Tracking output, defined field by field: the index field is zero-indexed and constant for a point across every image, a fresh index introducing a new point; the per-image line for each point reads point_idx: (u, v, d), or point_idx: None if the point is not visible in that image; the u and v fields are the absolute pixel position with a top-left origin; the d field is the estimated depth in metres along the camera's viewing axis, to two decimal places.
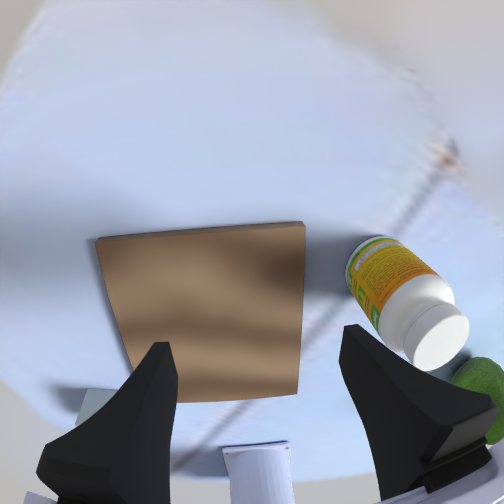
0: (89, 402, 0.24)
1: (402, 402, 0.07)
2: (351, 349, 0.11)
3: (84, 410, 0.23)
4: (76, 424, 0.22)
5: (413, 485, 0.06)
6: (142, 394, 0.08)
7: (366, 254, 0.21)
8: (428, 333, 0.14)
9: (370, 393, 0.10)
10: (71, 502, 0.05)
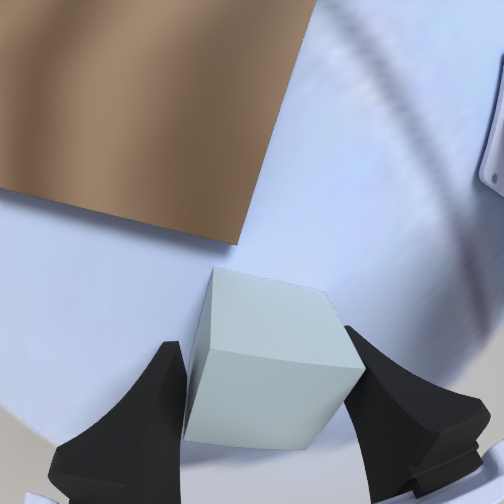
0: (190, 373, 0.13)
1: (391, 405, 0.07)
2: None
3: (187, 395, 0.12)
4: None
5: (402, 489, 0.06)
6: (154, 394, 0.08)
7: None
8: None
9: (360, 395, 0.10)
10: None
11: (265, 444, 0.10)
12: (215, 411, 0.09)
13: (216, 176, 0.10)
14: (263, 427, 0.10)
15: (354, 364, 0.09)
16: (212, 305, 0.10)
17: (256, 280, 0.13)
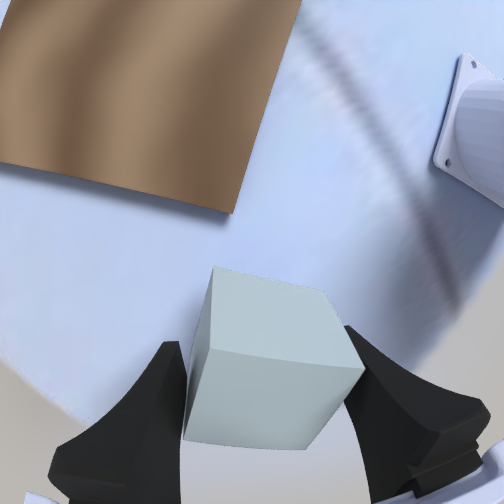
0: (190, 373, 0.13)
1: (391, 405, 0.07)
2: None
3: (187, 395, 0.12)
4: (184, 435, 0.10)
5: (402, 489, 0.06)
6: (154, 394, 0.08)
7: None
8: None
9: (360, 395, 0.10)
10: None
11: (265, 444, 0.10)
12: (214, 411, 0.09)
13: (217, 162, 0.14)
14: (263, 427, 0.10)
15: (354, 364, 0.09)
16: (212, 305, 0.10)
17: (256, 280, 0.13)
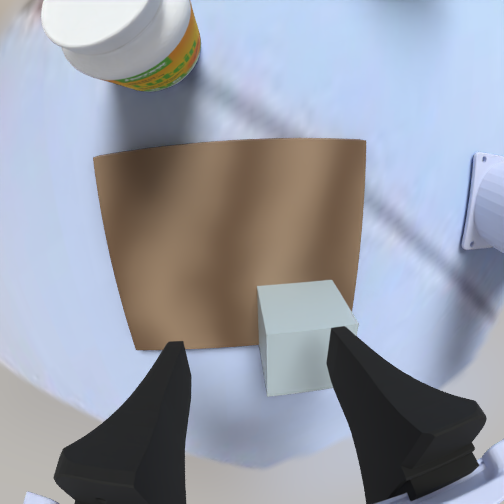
0: (261, 355, 0.20)
1: (385, 407, 0.07)
2: (337, 351, 0.11)
3: (263, 369, 0.19)
4: (267, 393, 0.18)
5: (397, 491, 0.06)
6: (160, 394, 0.08)
7: None
8: (57, 41, 0.06)
9: (355, 396, 0.10)
10: None
11: (317, 386, 0.18)
12: (280, 370, 0.17)
13: None
14: (311, 374, 0.17)
15: (351, 322, 0.16)
16: (262, 310, 0.18)
17: (285, 286, 0.20)
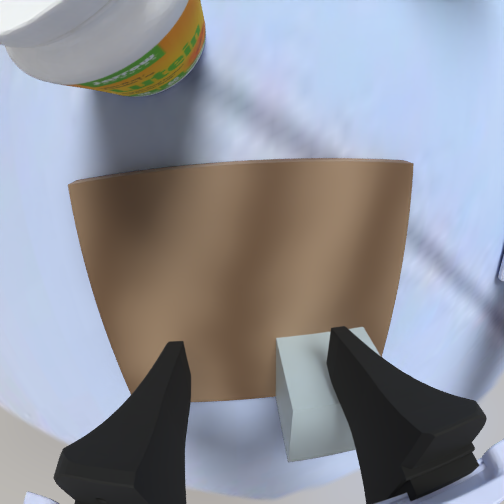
0: (280, 413, 0.16)
1: (385, 406, 0.07)
2: (337, 351, 0.11)
3: (282, 430, 0.15)
4: (288, 459, 0.14)
5: (396, 491, 0.06)
6: (160, 394, 0.08)
7: None
8: None
9: (355, 396, 0.10)
10: None
11: (345, 449, 0.14)
12: (305, 440, 0.13)
13: None
14: (340, 440, 0.13)
15: None
16: (285, 375, 0.14)
17: (310, 338, 0.16)
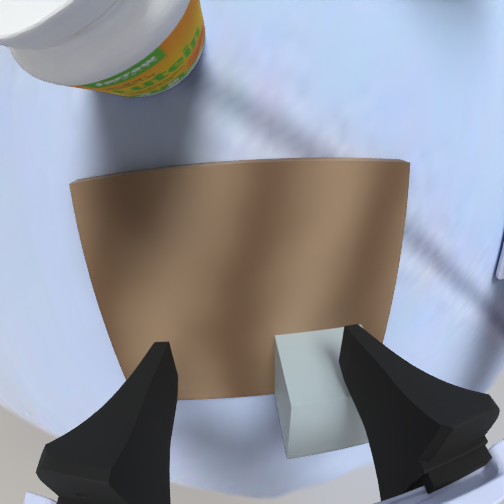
0: (279, 410, 0.17)
1: (402, 402, 0.07)
2: (351, 349, 0.11)
3: (281, 427, 0.16)
4: (287, 455, 0.14)
5: (413, 485, 0.06)
6: (142, 394, 0.08)
7: None
8: None
9: (370, 393, 0.10)
10: (71, 502, 0.05)
11: (343, 445, 0.14)
12: (303, 436, 0.13)
13: None
14: (338, 436, 0.14)
15: None
16: (284, 372, 0.14)
17: (308, 336, 0.16)
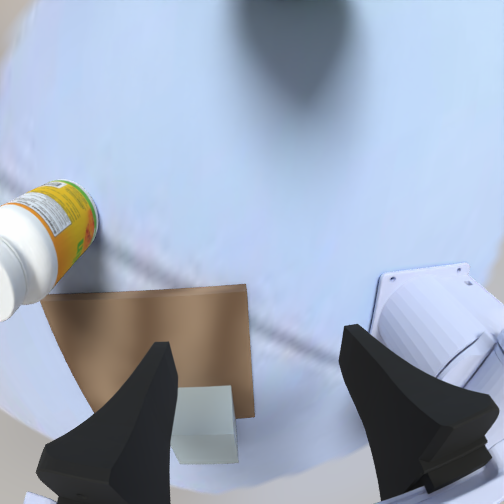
0: None
1: (402, 402, 0.07)
2: (351, 349, 0.11)
3: None
4: None
5: (413, 485, 0.06)
6: (142, 394, 0.08)
7: None
8: None
9: (370, 393, 0.10)
10: (71, 502, 0.05)
11: (215, 462, 0.22)
12: (183, 452, 0.21)
13: (238, 404, 0.26)
14: (207, 456, 0.21)
15: (228, 432, 0.20)
16: None
17: (192, 390, 0.24)
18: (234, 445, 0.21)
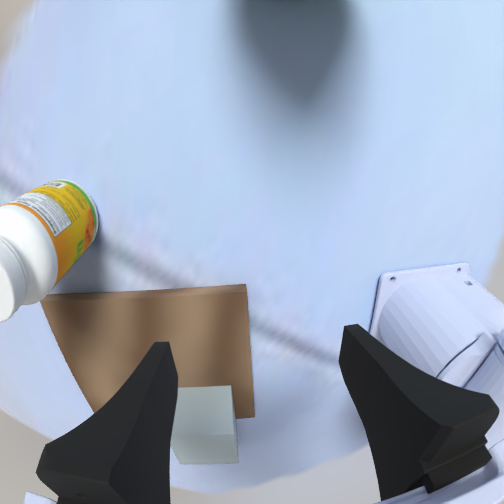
0: None
1: (402, 402, 0.07)
2: (351, 349, 0.11)
3: None
4: None
5: (413, 485, 0.06)
6: (142, 394, 0.08)
7: None
8: None
9: (370, 393, 0.10)
10: (71, 502, 0.05)
11: (215, 462, 0.22)
12: (183, 452, 0.21)
13: (238, 404, 0.26)
14: (207, 456, 0.21)
15: (228, 432, 0.20)
16: None
17: (192, 390, 0.24)
18: (234, 445, 0.21)
